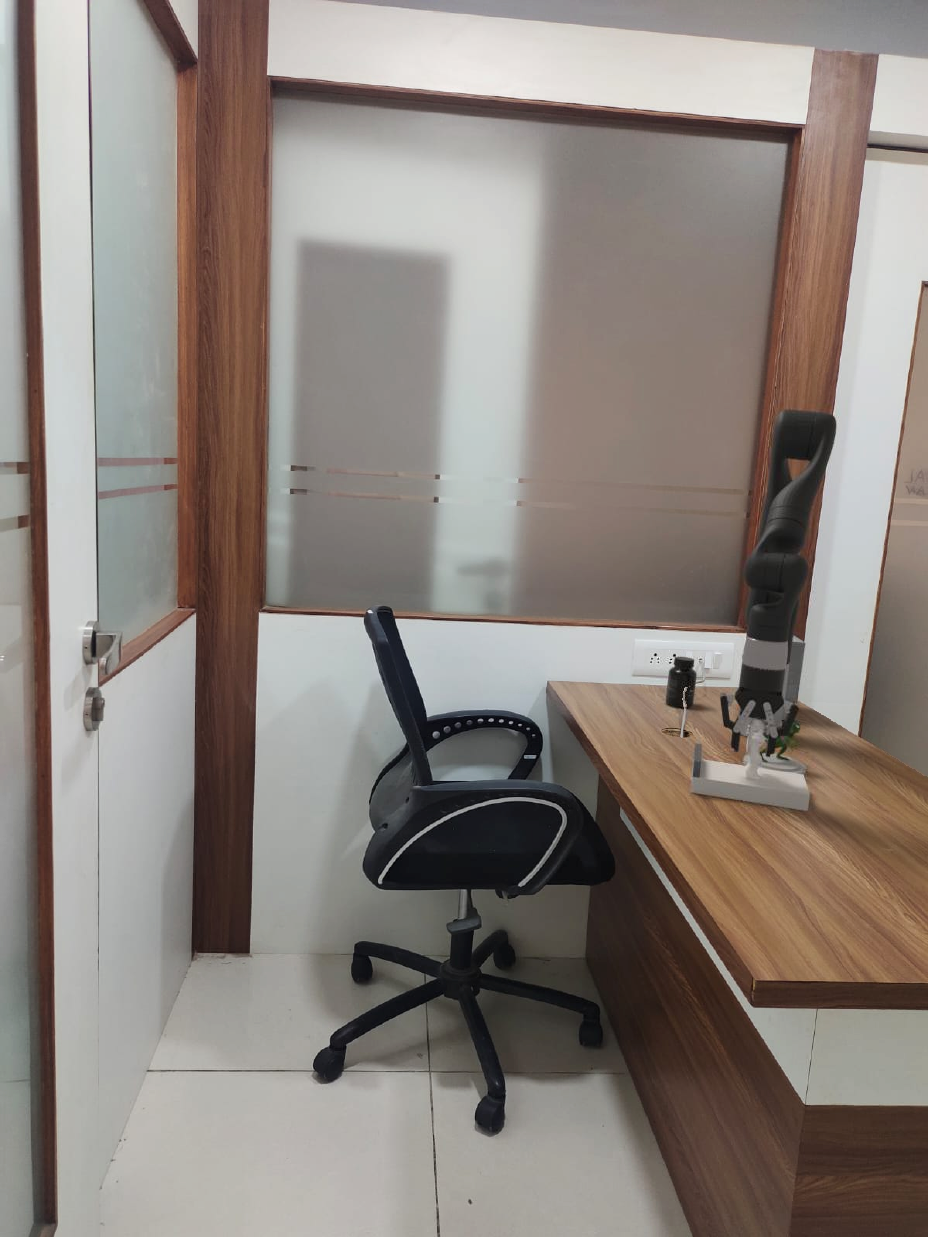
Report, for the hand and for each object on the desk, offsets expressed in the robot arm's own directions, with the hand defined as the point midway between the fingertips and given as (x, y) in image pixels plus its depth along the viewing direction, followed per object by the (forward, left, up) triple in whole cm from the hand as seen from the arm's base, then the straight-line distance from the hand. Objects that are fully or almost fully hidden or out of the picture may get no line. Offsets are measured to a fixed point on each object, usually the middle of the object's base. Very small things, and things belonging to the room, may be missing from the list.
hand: (751, 752), depth 159 cm
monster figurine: (-17, +6, -8) cm, 20 cm away
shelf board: (0, 0, -7) cm, 7 cm away
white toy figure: (0, 0, -5) cm, 5 cm away
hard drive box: (-61, +8, -8) cm, 62 cm away
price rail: (0, -9, -4) cm, 10 cm away
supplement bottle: (-56, -14, -8) cm, 59 cm away
